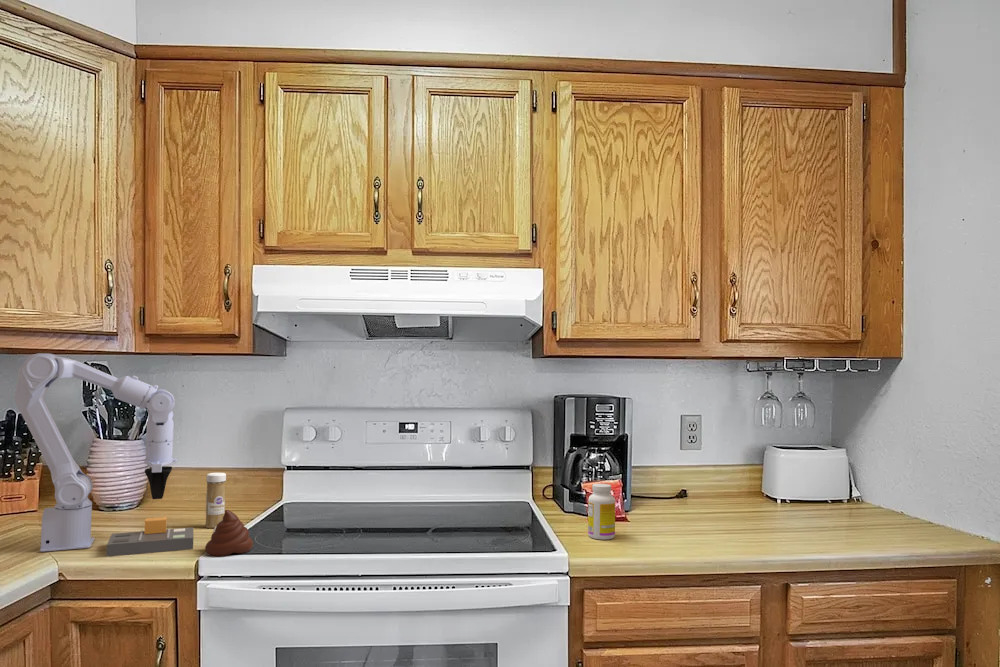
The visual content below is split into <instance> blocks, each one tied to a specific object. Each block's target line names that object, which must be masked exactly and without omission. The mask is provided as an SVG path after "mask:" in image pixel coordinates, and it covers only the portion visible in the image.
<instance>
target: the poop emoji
mask: <svg viewBox="0 0 1000 667" xmlns="http://www.w3.org/2000/svg"><path fill="white" fill-rule="evenodd" d="M253 546H254V541H253V539H252V538H251V537H250V532H249V529H248V528H247V527H246V526H244V522H242V521H241V520H240V519H239V516H238V515H237V514H236V513H234V512H233V511H231V510H228V509H224V516H223V520H222V521H221V522H219V523H218V524H217V526H216V527H215V528H213V532H212V534H211V536H210V540H209V541H207V542H206V544H205V549H204V552H205V553H206V554H207V555H208V556H212V557H225V556H229V555H231V554H246V553H248V552H250V551H251V550H252V548H253Z"/></svg>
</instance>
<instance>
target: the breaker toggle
mask: <svg viewBox="0 0 1000 667" xmlns="http://www.w3.org/2000/svg"><path fill="white" fill-rule="evenodd" d="M167 518H168V517H167V516H165V517H164V516H163V517H161V516H160V517H148V518H147V517H146V518H145V520H144V531H145V532H144V534H153V533H166V529H167V524H168V521H167Z"/></svg>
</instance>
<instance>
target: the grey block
mask: <svg viewBox="0 0 1000 667" xmlns="http://www.w3.org/2000/svg"><path fill="white" fill-rule="evenodd" d="M144 532H145V530H140V531H128V532H127V531H126V532H118V533H117V532H116V533H114V532H113V533H111V535H110V537H109V538H108V541H107V543H106V555H105V556H106V557H115V556H127V555H129V556H130V555H139V554H149V553H163V552H172V551H182V550H183V551H185V550H193V549H194V527H181V528H168V529H167V528H166V533H153V534H144Z"/></svg>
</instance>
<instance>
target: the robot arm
mask: <svg viewBox="0 0 1000 667" xmlns="http://www.w3.org/2000/svg"><path fill="white" fill-rule="evenodd" d="M73 378H75V379H78V380H82V381H84V382H87V383H89V384H93V385H96V386H98V387H101V388H104V389H107V390H109V391H111V393H112V394H113V395H112V396H113V397H114V398H115V399H117V400H119V401H120V402H121V401H122V402H125V403H126V404H129V405H132V406H135V407H137V408H140V409H144V408H147V410H148V417H147V418H148V420H147V422H146V434H145V435H146V438H145V439H146V441H145V442H146V444H145V459H144V464H145V465H146V466H149V467H148V468H145V469H144V473H145V476H146V477H147V479H148V483H149V488H150V494H151V495H150V496H151V498H152V500H162V499H163V497H164V495H165V490H166V484H167V481H168V478H169V476H170V474H171V473H172V470H173V466H167V465H171V464H172V463H178V460H179V459H178V458H173V450H174V449H173V447H174V428H175V426H174V425H175V423H174V420H173V419H174V411H173V410H174V409H175V405H176V403H175V402H176V401H175V397H174V395H173V394H172V393H171V392H169V391H168V390H167V389H165V388H159V385H157V384H154V385H151V384H149V383H146V382H143V381H142V380H139V377H138V376H136V375H132V376H130V375H125V376H121V377H117V376H113V375H111V374H108V373H107V372H105V371H101V370H99V369H98V368H95V367H93V366H90V365H89V364H86V363H83V362H82V361H81V362H80V361H79V360H75V359H71V358H68V357H64V356H58V355H57V354H54V353H48V352H47V353H44V352H43V353H40V352H38V353H35V354H32V355H30V356H28V357H27V358H26V359H25V361H24V362H23V364H21V366H20V367H19V370H18V377H17V383H16V388H15V392H14V397H13V398H14V402H15V404H16V406H17V409H18V410H19V412H20V415H21V416H22V418H23V421H25V424H26V426H27V428H28V431H30V433H31V437H32V438H33V439H34V441H35V444H36V445H37V447H38V450H39V451H40V453H41V456H42V457H43V459H44V461H45V464H46V465H47V467H48V469H49V471H50V476H51V480H52V484H53V485H54V499H55V501H56V503H55V504H54V506H52V507H46V508H44V509H43V512H42V515H41V516H42V517H41V532H40V549H39V552H53V551H54V552H57V551H65V550H66V551H67V550H76V549H77V550H78V549H89V548H91V546H92V544H93V542H94V541H95V537H93V536H92V517H93V516H92V514H93V513H92V511H93V501H91V499H90V498H89V497H88V496H89V495H90V494H91V492H92V491H93V481H92V478H90V476H89V475H87V474H85V473H84V472H83V471H82V469H81V468H80V465H78V464H77V462H76V461H75V460H74V458H73V455H72V454H71V451H70V450H69V448H68V446H67V444H66V442H65V440H64V438H63V436H62V434H61V432H60V430H59V428H58V426H57V424H56V422H55V420H54V417H53V416H52V414H51V412H50V410H49V408H48V406H47V404H46V402H45V400H44V397H45V395H46V393H47V392H48V390H49V388H50V386H51V384H52V383H54V381H56V380H57V379H73ZM158 388H159V389H158Z"/></svg>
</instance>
